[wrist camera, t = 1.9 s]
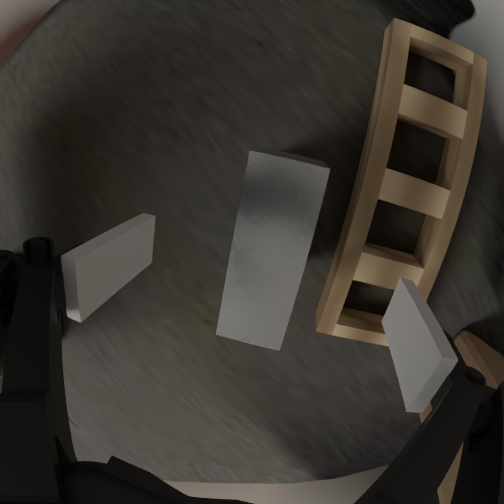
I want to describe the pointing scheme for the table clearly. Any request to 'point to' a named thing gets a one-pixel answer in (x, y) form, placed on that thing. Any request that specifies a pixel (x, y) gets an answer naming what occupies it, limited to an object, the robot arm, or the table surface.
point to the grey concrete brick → (270, 245)
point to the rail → (405, 178)
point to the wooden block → (494, 373)
